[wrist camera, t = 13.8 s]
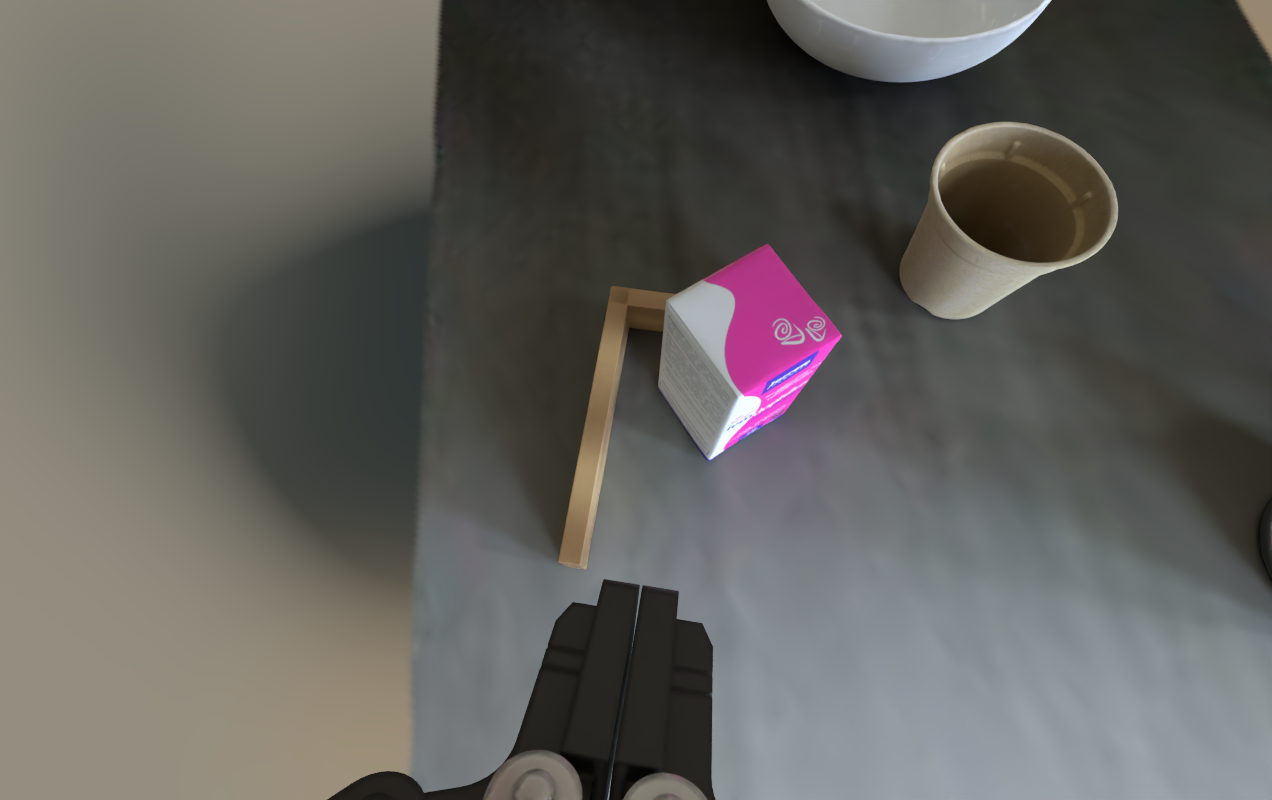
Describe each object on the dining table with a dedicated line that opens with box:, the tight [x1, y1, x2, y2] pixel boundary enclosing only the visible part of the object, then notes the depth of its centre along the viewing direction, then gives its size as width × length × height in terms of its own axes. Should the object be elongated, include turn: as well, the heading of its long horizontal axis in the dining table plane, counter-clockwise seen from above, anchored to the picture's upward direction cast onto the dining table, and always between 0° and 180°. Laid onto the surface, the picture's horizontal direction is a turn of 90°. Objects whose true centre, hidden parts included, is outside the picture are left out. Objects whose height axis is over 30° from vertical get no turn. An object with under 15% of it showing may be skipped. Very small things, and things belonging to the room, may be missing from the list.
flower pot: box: [900, 122, 1118, 319], centre depth 35 cm, size 9×9×9 cm
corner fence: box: [558, 286, 676, 569], centre depth 34 cm, size 16×11×3 cm, turn 171°
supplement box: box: [658, 244, 842, 461], centre depth 31 cm, size 6×6×12 cm
